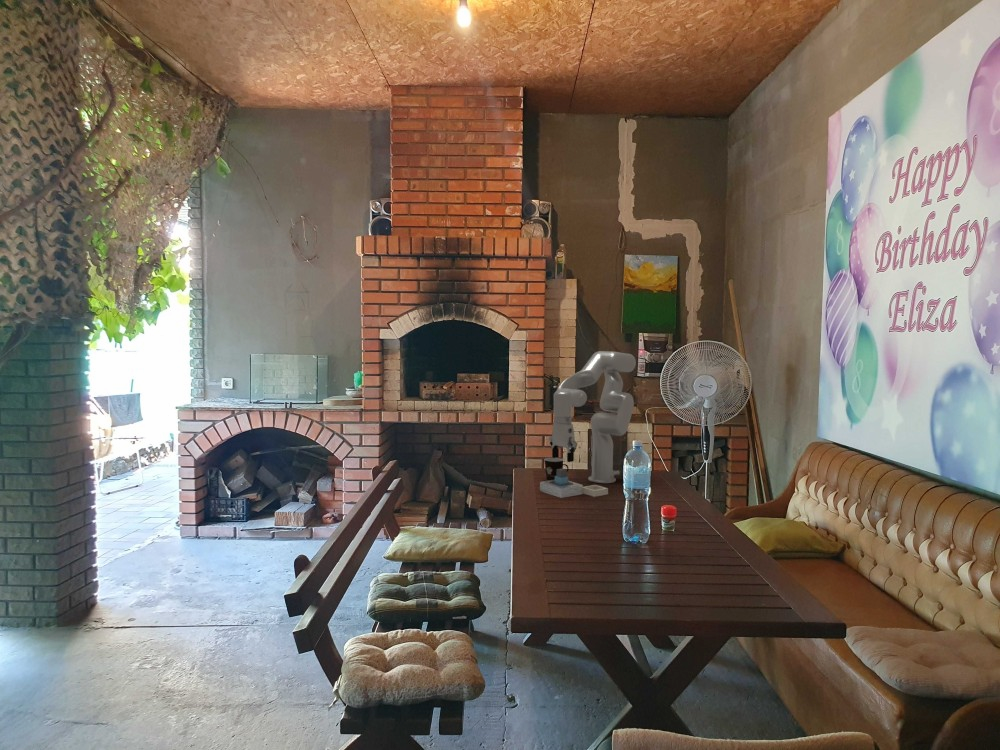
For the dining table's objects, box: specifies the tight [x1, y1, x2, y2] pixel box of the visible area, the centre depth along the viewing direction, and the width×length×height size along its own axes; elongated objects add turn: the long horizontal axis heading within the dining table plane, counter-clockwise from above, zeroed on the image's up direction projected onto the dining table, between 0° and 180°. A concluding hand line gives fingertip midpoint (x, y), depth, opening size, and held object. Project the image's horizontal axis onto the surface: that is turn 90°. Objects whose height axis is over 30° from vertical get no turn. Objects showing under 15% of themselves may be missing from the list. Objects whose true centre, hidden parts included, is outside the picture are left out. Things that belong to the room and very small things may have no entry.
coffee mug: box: [544, 457, 570, 481], centre depth 293 cm, size 12×9×10 cm
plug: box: [555, 468, 569, 485], centre depth 273 cm, size 4×4×10 cm
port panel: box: [539, 480, 584, 499], centre depth 273 cm, size 12×14×4 cm
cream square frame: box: [582, 484, 609, 498], centre depth 272 cm, size 8×8×2 cm
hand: (562, 459), depth 273 cm, fingers open, 9 cm apart
